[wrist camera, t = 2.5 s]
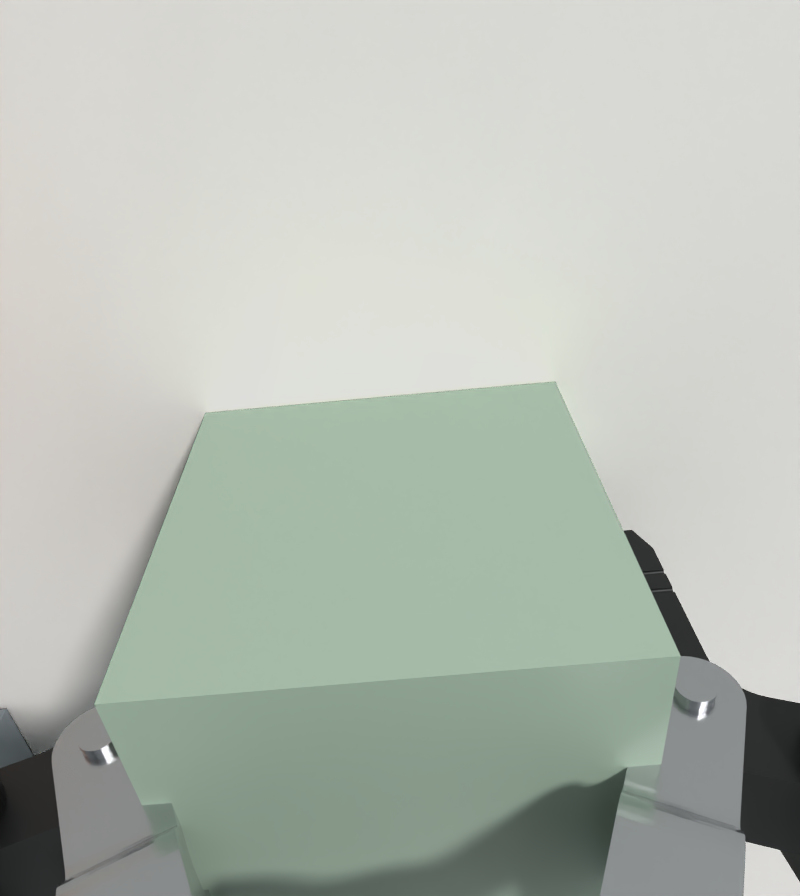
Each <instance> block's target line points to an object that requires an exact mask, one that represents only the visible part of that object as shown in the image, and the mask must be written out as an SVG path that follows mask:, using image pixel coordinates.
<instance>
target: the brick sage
mask: <svg viewBox="0 0 800 896" xmlns="http://www.w3.org/2000/svg"><path fill="white" fill-rule="evenodd" d="M680 657H681V656H680V653H679V651H678V649H677V647H676V645H675V643H674V640H673V638H672V636H671V634H670V632H669V629H668V627H667V625H666V623H665V621H664V618H663V616H662V614H661V612H660V610H659V608H658V605H657V603H656V601H655V599H654V597H653V594H652V592H651V590H650V588H649V586H648V583H647V581H646V579H645V577H644V575H643V573H642V570H641V568H640V566H639V564H638V562H637V559H636V557H635V555H634V553H633V551H632V548H631V546H630V544H629V542H628V540H627V538H626V535H625V533H624V531H623V529H622V527H621V524H620V522H619V520H618V518H617V516H616V513H615V511H614V509H613V507H612V505H611V503H610V500H609V498H608V496H607V494H606V492H605V489H604V487H603V485H602V483H601V481H600V478H599V476H598V474H597V472H596V470H595V468H594V465H593V463H592V461H591V459H590V457H589V454H588V452H587V450H586V448H585V446H584V443H583V441H582V439H581V437H580V435H579V433H578V430H577V428H576V426H575V424H574V422H573V419H572V417H571V415H570V413H569V411H568V408H567V406H566V404H565V402H564V400H563V398H562V395H561V393H560V391H559V389H558V387H557V384H556V382H547V383H535V384H524V385H513V386H502V387H491V388H479V389H468V390H457V391H446V392H435V393H423V394H412V395H401V396H390V397H379V398H367V399H356V400H345V401H334V402H323V403H311V404H300V405H289V406H278V407H267V408H255V409H244V410H233V411H222V412H211V413H205V416H204V418H203V421H202V423H201V426H200V429H199V431H198V434H197V437H196V439H195V442H194V444H193V447H192V450H191V452H190V455H189V457H188V460H187V463H186V465H185V468H184V471H183V473H182V476H181V478H180V481H179V484H178V486H177V489H176V491H175V494H174V497H173V499H172V502H171V505H170V507H169V510H168V512H167V515H166V518H165V520H164V523H163V525H162V528H161V531H160V533H159V536H158V539H157V541H156V544H155V546H154V549H153V552H152V554H151V557H150V560H149V562H148V565H147V567H146V570H145V573H144V575H143V578H142V580H141V583H140V586H139V588H138V591H137V594H136V596H135V599H134V601H133V604H132V607H131V609H130V612H129V614H128V617H127V620H126V622H125V625H124V628H123V630H122V633H121V635H120V638H119V641H118V643H117V646H116V648H115V651H114V654H113V656H112V659H111V662H110V664H109V667H108V669H107V672H106V675H105V677H104V680H103V682H102V685H101V688H100V690H99V693H98V696H97V698H96V701H95V703H94V705H95V708H96V710H97V712H98V714H99V716H100V718H101V720H102V722H103V724H104V727H105V729H106V731H107V733H108V735H109V737H110V739H111V741H112V743H113V746H114V748H115V750H116V752H117V754H118V756H119V758H120V760H121V762H122V764H123V767H124V769H125V771H126V773H127V775H128V777H129V779H130V781H131V783H132V786H133V788H134V790H135V792H136V794H137V796H138V798H139V800H140V802H141V804H142V805H153V804H166V803H172V805H173V808H174V810H175V812H176V815H177V817H178V819H179V822H180V824H181V827H182V831H183V835H184V838H185V842H186V845H187V848H188V852H189V855H190V858H191V861H192V864H193V866H194V869H195V872H196V874H197V877H198V879H199V881H200V883H201V886H202V888H203V890H209V892H210V894H211V896H600V893H601V888H602V883H603V878H604V873H605V868H606V863H607V858H608V853H609V848H610V843H611V838H612V833H613V828H614V823H615V818H616V813H617V808H618V803H619V799H620V794H621V792H622V790H623V786H624V781H625V776H626V771H627V767H635V766H647V765H660V764H661V762H662V757H663V751H664V746H665V740H666V735H667V729H668V724H669V718H670V713H671V707H672V702H673V696H674V690H675V685H676V679H677V674H678V668H679V663H680Z"/></svg>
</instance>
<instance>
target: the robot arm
mask: <svg viewBox="0 0 800 896" xmlns="http://www.w3.org/2000/svg"><path fill="white" fill-rule="evenodd" d="M624 533H625V535H626V538H627V540H628V542H629V544H630V546H631V548H632V551H633V553H634V555H635V557H636V559H637V562H638V564H639V566H640V568H641V570H642V573H643V575H644V577H645V579H646V581H647V583H648V586H649V588H650V590H651V592H652V594H653V597H654V599H655V601H656V603H657V605H658V608H659V610H660V612H661V614H662V616H663V618H664V621H665V623H666V625H667V627H668V629H669V632H670V634H671V636H672V638H673V640H674V643H675V645H676V647H677V649H678V651H679V653H680V656H681V657H680V663H679V668H678V674H677V679H676V685H675V690H674V696H673V702H672V707H671V713H670V718H669V724H668V729H667V735H666V740H665V746H664V751H663V757H662V762H661V764H660V765H647V766H635V767H627V771H626V776H625V781H624V786H623V790H622V792H621V794H620V799H619V803H618V808H617V813H616V818H615V823H614V828H613V833H612V838H611V843H610V848H609V853H608V858H607V863H606V868H605V873H604V878H603V883H602V888H601V893H600V896H743V893H744V873H745V851H746V843H745V841H746V842H750V843H754V844H758V845H762V846H766V847H770V848H774V849H778V850H780V851H781V852H782V854H783V855H784V857H785V859H786V860H787V862H788V863H789V865H790V867H791V868H792V870H793V871H794V873H795V875H796V876H797V878H798V880H799V881H800V703H795V702H790V701H785V700H779V699H774V698H769V697H765V696H761V695H757V694H754V693H751V692H749V691H746V690H744V689H742V688H741V686H740V685H739V684H738V682H737V681H736V680H735V679H734V678H733V677H732V676H731V675H730V674H729V673H728V672H726V671H725V670H724V669H722V668H721V667H719V666H717V665H716V664H713V663H711V662H710V661H709V660H708V658H707V656H706V654H705V652H704V650H703V648H702V646H701V644H700V642H699V640H698V638H697V636H696V634H695V632H694V630H693V628H692V626H691V624H690V622H689V620H688V618H687V616H686V614H685V612H684V610H683V608H682V606H681V604H680V602H679V600H678V598H677V596H676V594H675V592H673V590H672V586H671V584H670V582H669V580H668V578H667V576H666V574H664V570H663V568H662V565H661V563H660V561H659V559H658V557H657V555H656V553H655V551H654V549H653V548H652V547H651V546H650V545H649V544H648V543H646V542H645V541H644V540H643V539H642V538H641V537H639V536H638V535H637V534H636V533H635V532H634V531H632V530H627V531H624ZM0 896H211V894H210V892H209V890H203V888H202V886H201V883H200V881H199V879H198V877H197V874H196V872H195V869H194V866H193V864H192V861H191V858H190V855H189V852H188V848H187V845H186V842H185V838H184V835H183V831H182V827H181V824H180V822H179V819H178V817H177V815H176V812H175V810H174V808H173V805H172V803H166V804H153V805H142V804H141V802H140V800H139V798H138V796H137V794H136V792H135V790H134V788H133V786H132V783H131V781H130V779H129V777H128V775H127V773H126V771H125V769H124V767H123V764H122V762H121V760H120V758H119V756H118V754H117V752H116V750H115V748H114V746H113V743H112V741H111V739H110V737H109V735H108V733H107V731H106V729H105V727H104V724H103V722H102V720H101V718H100V716H99V714H98V712H97V710H96V708H95V707H94V708H92V709H90V710H88V711H86V712H84V713H83V714H81V715H80V716H78V717H77V718H76V719H74V720H73V721H72V722H71V723H70V724H69V725H68V726H67V727H66V728H65V729H64V730H63V732H62V733H61V734H60V736H59V738H58V739H57V741H56V743H55V746H54V748H52V749H50V750H48V751H46V752H43V753H41V754H38V755H35V756H33V757H30V758H27V759H24V760H21V761H19V762H16V763H13V764H10V765H7V766H5V767H2V768H0Z"/></svg>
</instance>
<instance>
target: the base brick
mask: <svg viewBox="0 0 800 896" xmlns="http://www.w3.org/2000/svg"><path fill="white" fill-rule="evenodd" d="M30 757H33V754H32V753H31V751H30V749H29V747H28V746H27V744H26V742H25V740H24V739H23V737H22V735H21V733H20V731H19V730H18V728H17V726H16V724H15V723H14V721H13V719H12V717H11V716H10V714H9V712H8V710H7V709H0V768H2V767H5V766H7V765H10V764H13V763H16V762H19V761H21V760H24V759H27V758H30Z"/></svg>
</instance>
